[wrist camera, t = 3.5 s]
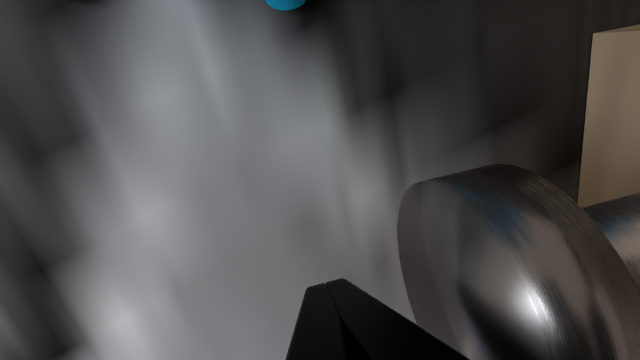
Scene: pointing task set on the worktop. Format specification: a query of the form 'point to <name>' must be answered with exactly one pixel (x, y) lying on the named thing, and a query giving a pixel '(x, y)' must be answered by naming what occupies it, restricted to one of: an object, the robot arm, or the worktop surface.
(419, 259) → the shaft
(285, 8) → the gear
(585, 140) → the bearing block
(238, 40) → the worktop surface
